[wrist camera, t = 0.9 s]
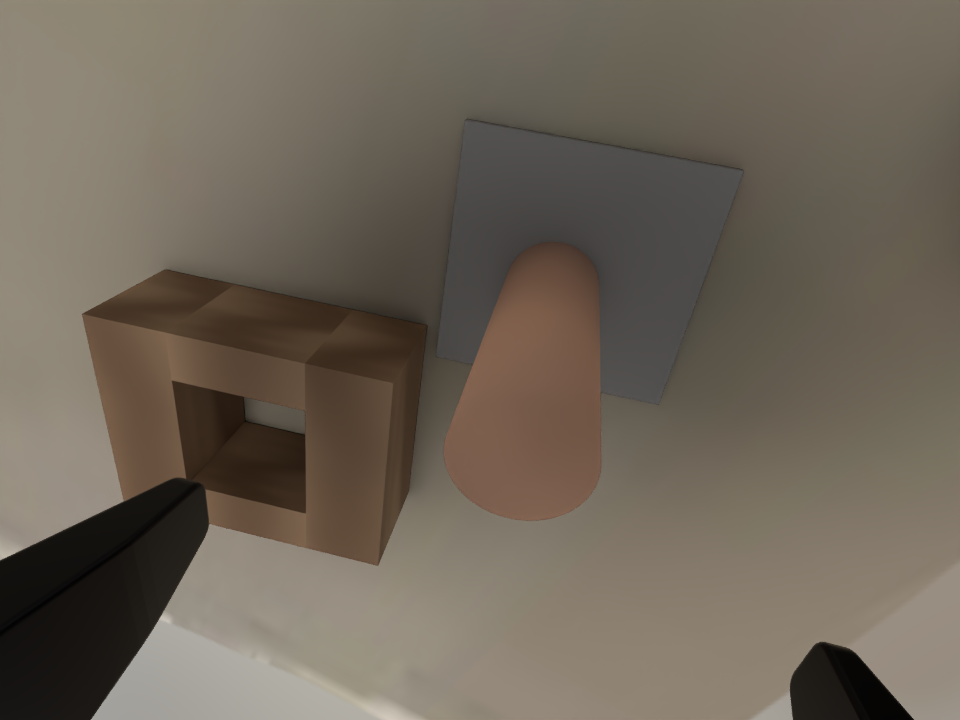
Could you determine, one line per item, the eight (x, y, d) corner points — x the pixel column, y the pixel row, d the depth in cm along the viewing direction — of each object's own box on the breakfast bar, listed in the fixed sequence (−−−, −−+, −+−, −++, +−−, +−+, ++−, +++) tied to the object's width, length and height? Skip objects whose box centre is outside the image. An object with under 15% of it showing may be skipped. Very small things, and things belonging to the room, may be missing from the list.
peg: (609, 252, 18) (619, 415, 10) (586, 336, 19) (580, 535, 12) (514, 233, 18) (453, 378, 10) (499, 318, 20) (436, 500, 12)
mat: (741, 169, 16) (743, 171, 16) (657, 400, 20) (658, 404, 20) (467, 118, 17) (465, 119, 17) (437, 352, 21) (435, 356, 21)
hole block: (427, 325, 21) (393, 383, 17) (408, 492, 25) (378, 565, 21) (164, 269, 21) (81, 314, 18) (188, 439, 25) (124, 502, 22)
